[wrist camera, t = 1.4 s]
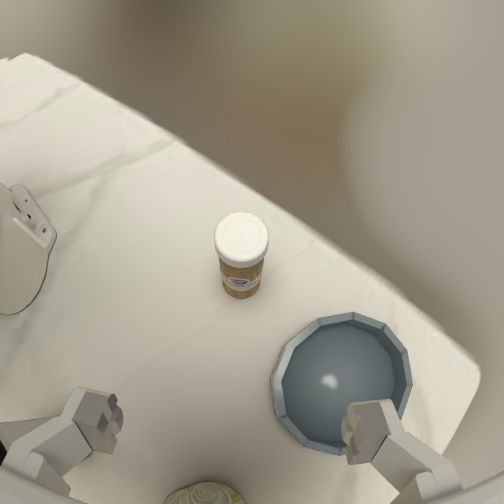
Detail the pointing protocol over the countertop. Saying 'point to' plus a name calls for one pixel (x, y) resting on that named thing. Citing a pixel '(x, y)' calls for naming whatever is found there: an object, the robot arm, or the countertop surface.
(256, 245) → the sprinkles bottle
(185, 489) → the seashell
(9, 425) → the travel mug
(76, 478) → the countertop surface
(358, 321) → the slate bowl
